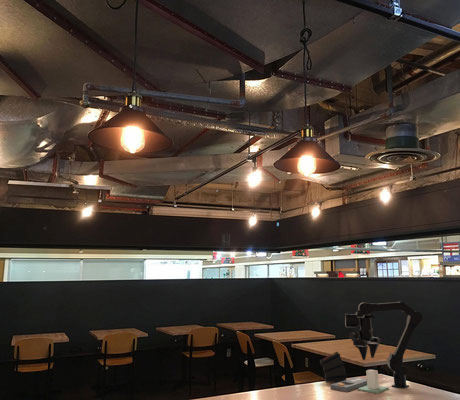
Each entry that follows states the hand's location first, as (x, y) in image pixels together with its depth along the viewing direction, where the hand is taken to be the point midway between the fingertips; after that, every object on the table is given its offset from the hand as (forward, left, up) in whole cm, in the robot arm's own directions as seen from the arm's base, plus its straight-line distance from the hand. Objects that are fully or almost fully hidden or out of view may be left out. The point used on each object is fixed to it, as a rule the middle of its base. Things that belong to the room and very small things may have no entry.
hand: (368, 358), depth 219 cm
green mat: (+7, +5, -13) cm, 16 cm away
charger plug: (+7, +5, -12) cm, 15 cm away
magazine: (+2, -20, -13) cm, 24 cm away
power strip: (+5, -7, -13) cm, 16 cm away
